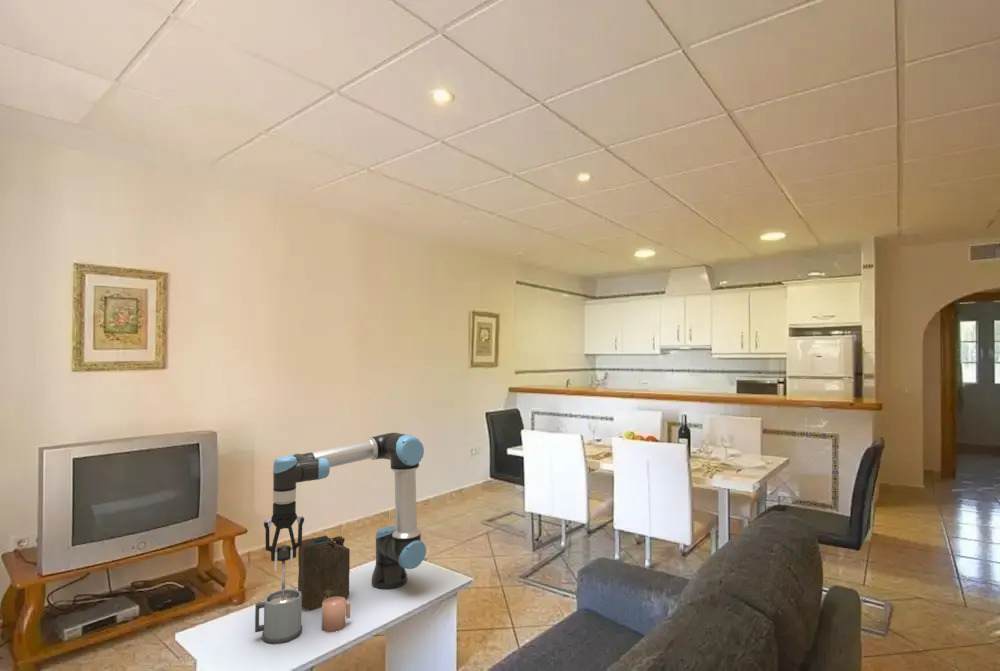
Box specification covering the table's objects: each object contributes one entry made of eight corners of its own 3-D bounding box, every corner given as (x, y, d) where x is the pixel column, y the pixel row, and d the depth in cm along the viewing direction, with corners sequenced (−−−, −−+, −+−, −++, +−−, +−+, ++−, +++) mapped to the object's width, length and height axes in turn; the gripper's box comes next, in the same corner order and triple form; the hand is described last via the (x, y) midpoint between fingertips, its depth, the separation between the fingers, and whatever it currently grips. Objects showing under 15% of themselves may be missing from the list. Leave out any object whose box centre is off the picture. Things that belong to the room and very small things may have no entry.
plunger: (296, 592, 193) (296, 541, 194) (297, 602, 185) (298, 549, 186) (268, 596, 189) (269, 545, 190) (269, 607, 181) (269, 553, 182)
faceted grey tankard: (300, 622, 195) (301, 586, 196) (303, 639, 183) (304, 600, 184) (254, 631, 189) (255, 594, 189) (254, 649, 177) (255, 609, 177)
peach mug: (347, 618, 198) (348, 593, 198) (351, 628, 190) (351, 602, 191) (320, 624, 194) (321, 598, 194) (323, 634, 186) (323, 608, 187)
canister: (303, 613, 202) (304, 546, 203) (296, 605, 209) (297, 540, 210) (350, 598, 214) (351, 535, 215) (342, 591, 220) (342, 530, 222)
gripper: (309, 496, 196) (308, 560, 194) (257, 501, 188) (256, 568, 187) (311, 501, 189) (310, 568, 188) (257, 506, 181) (256, 576, 180)
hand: (283, 568), depth 187 cm, fingers closed on plunger, 4 cm apart
